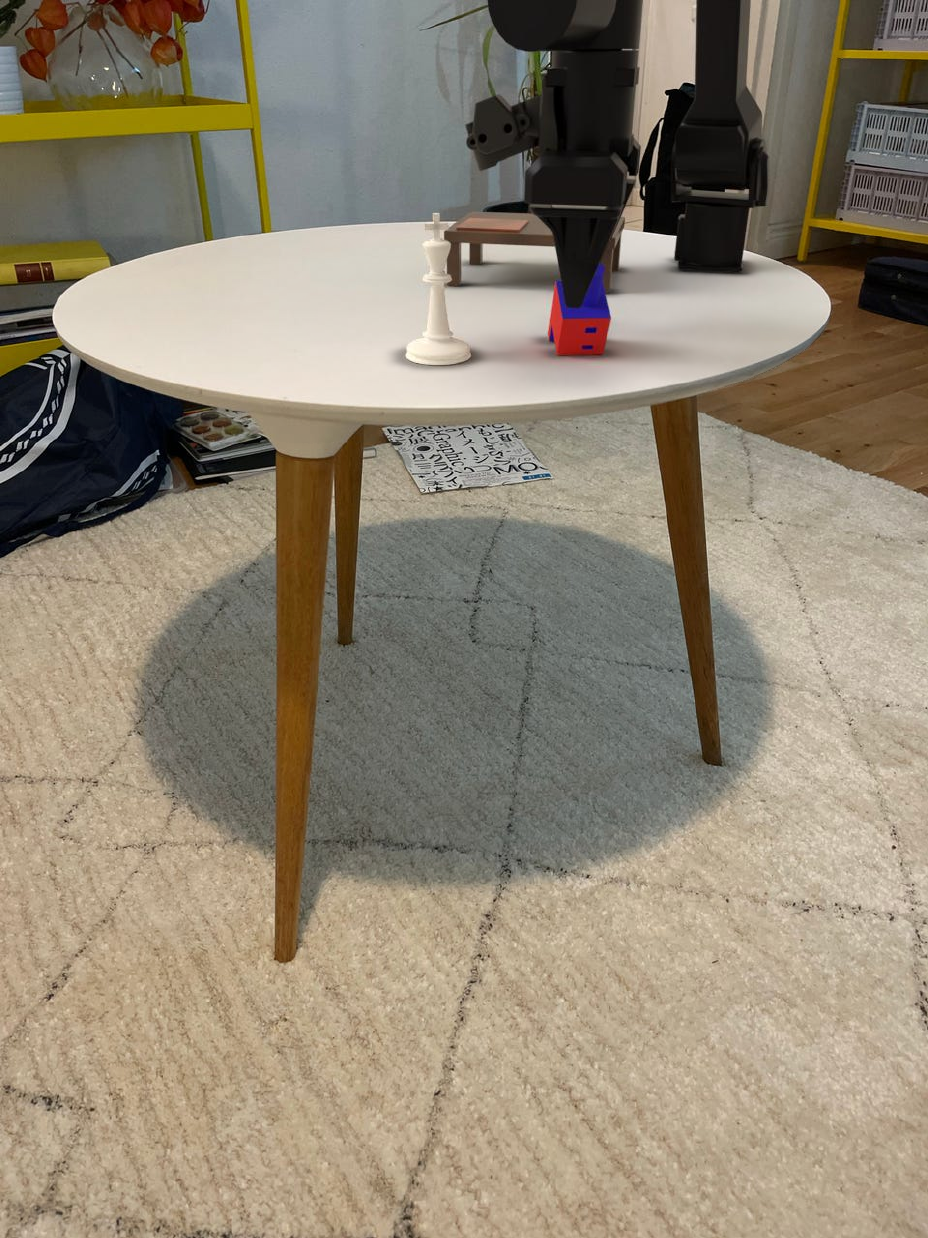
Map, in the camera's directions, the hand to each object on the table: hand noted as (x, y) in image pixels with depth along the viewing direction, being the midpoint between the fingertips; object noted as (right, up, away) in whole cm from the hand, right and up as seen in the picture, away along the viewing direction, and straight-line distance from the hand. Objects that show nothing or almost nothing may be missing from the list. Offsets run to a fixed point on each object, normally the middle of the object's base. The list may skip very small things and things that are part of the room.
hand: (580, 292), depth 72 cm
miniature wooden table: (-1, +10, +24) cm, 26 cm away
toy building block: (0, -4, +2) cm, 4 cm away
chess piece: (-11, -5, +1) cm, 12 cm away
